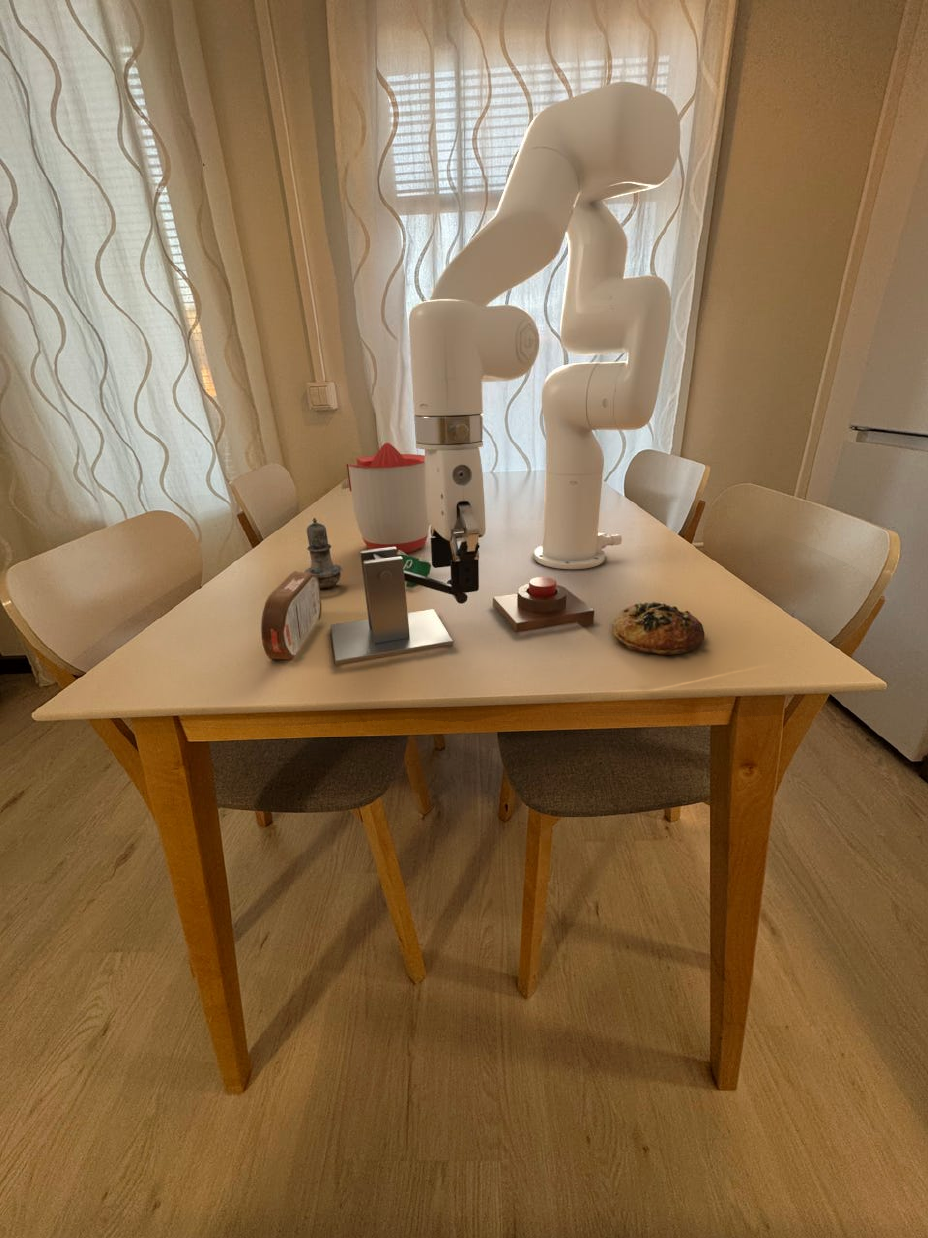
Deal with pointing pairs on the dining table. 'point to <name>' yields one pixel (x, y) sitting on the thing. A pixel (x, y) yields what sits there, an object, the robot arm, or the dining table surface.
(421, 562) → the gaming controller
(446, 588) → the lever
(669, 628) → the bread roll
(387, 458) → the citrus juicer
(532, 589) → the button
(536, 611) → the button block
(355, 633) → the bracket
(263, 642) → the tin
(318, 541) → the salt shaker
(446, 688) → the dining table surface
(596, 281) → the robot arm
